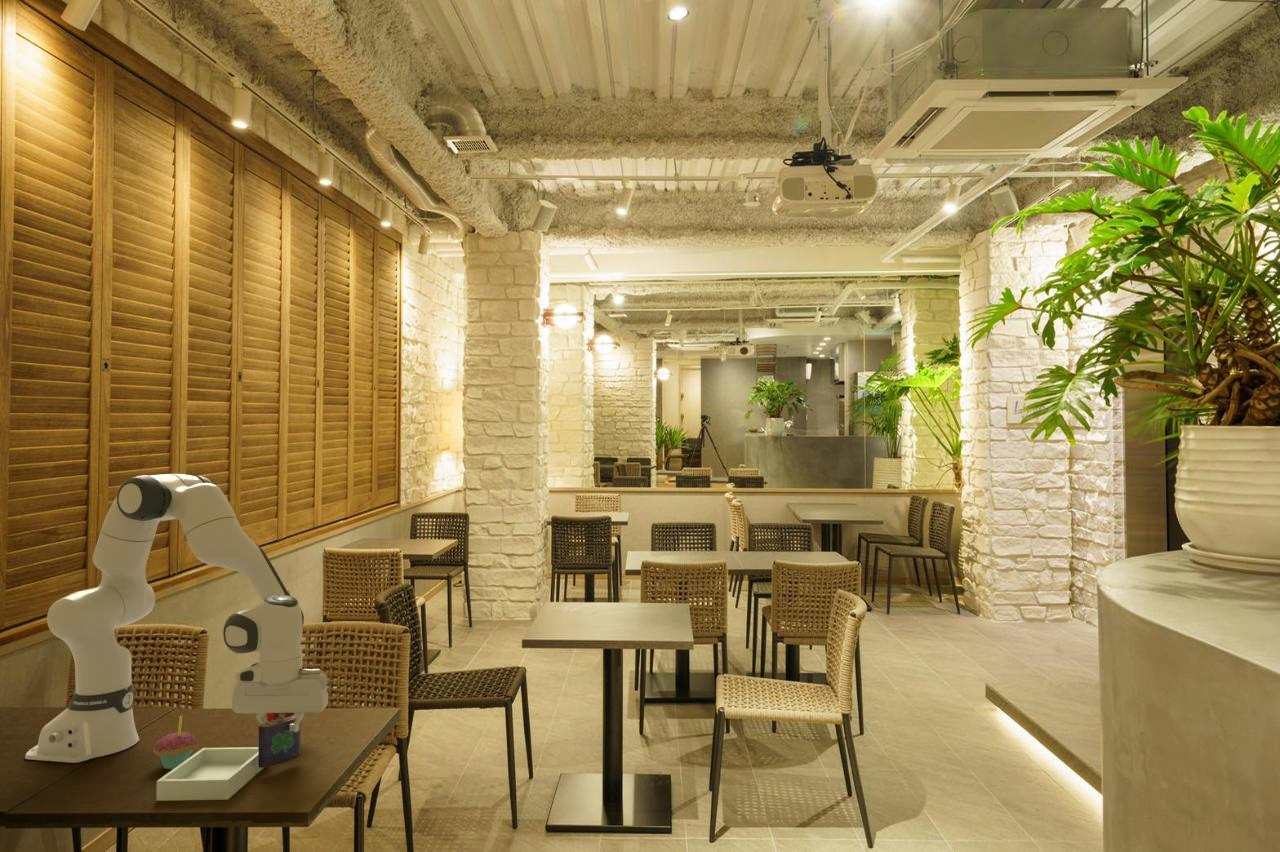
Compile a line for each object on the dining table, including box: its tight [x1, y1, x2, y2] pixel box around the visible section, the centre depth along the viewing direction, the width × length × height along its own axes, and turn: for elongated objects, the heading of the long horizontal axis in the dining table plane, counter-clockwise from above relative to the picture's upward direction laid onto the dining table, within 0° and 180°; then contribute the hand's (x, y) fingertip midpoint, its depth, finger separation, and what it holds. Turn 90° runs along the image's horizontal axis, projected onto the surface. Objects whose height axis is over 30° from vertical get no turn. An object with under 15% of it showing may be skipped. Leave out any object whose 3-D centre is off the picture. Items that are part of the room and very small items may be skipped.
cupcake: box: [152, 713, 198, 770], centre depth 171 cm, size 9×8×12 cm
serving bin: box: [156, 746, 264, 802], centre depth 162 cm, size 15×17×4 cm
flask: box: [258, 713, 302, 769], centre depth 167 cm, size 9×3×11 cm, turn 141°
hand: (280, 731), depth 167 cm, fingers closed on flask, 5 cm apart
